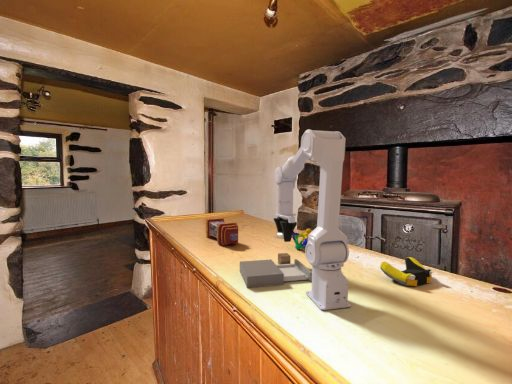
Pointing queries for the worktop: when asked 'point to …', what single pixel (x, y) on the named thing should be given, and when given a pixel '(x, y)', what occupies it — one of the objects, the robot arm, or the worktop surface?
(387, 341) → the worktop surface
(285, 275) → the tray
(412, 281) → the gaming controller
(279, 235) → the disc
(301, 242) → the decorative model
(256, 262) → the box
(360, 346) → the worktop surface
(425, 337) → the worktop surface
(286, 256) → the walnut block
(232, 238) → the lantern
